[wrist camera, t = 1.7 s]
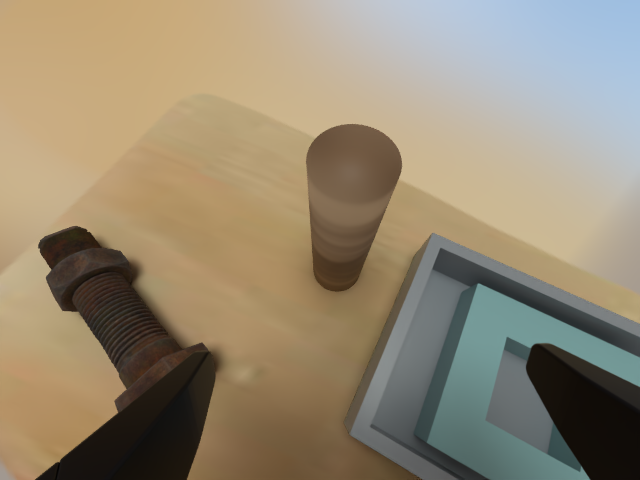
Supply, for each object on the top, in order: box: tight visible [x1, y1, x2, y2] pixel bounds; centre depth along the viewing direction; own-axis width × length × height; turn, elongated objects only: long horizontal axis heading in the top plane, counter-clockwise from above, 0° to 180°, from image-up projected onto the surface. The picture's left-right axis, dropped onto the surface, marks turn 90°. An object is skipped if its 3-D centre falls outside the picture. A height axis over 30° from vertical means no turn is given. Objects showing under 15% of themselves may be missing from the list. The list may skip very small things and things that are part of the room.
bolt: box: [38, 226, 214, 413], centre depth 20 cm, size 6×5×15 cm
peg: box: [306, 124, 402, 291], centre depth 17 cm, size 4×4×13 cm
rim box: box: [344, 233, 640, 480], centre depth 18 cm, size 13×18×4 cm
